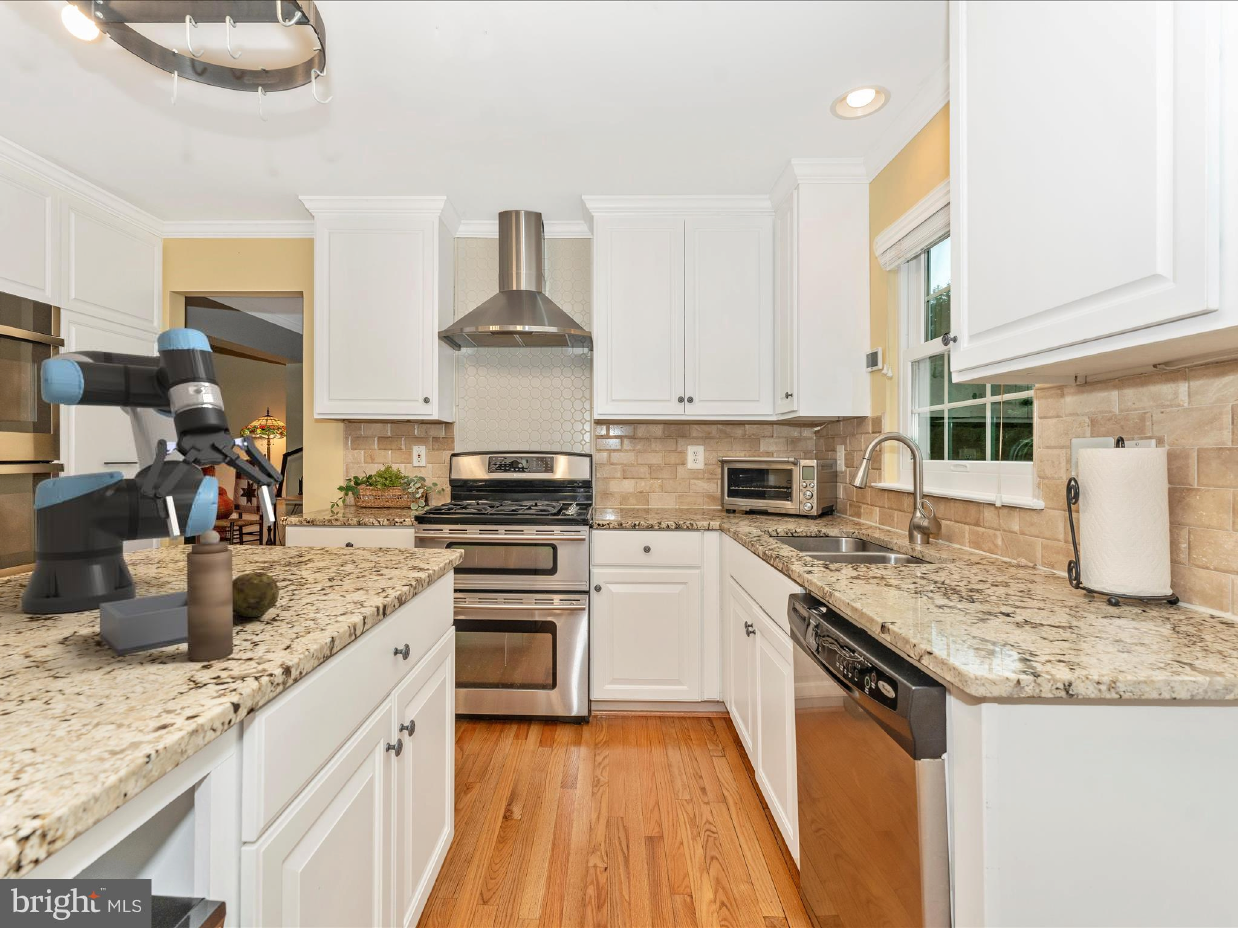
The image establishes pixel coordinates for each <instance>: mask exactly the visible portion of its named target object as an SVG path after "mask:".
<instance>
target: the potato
mask: <svg viewBox="0 0 1238 928" xmlns="http://www.w3.org/2000/svg"><path fill="white" fill-rule="evenodd" d="M232 593H233V614H236V615H238V616H240V617H245V618H247V617H248V618H255V617H256V618H257V617H261V616H263V615H265V614H266V613H267V612H268V611H270V609H272V608H273V607H274V606H275V605H276V604H277V602H278V601H279V596H280V589H279V586H278V584H277V582H276V581H275V579H274V578H273V577H272V576H271V575H270V574H268V573H265V572H260V571H259V572H249V573H244V574H240V575H238V576H236V577H235V578H234V579H232Z"/></svg>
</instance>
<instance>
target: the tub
mask: <svg viewBox="0 0 1238 928" xmlns="http://www.w3.org/2000/svg"><path fill="white" fill-rule="evenodd" d="M99 638H100V639H101V640H102V641H103V643H105V644H106V645H107V646H108V647H109V648H110V649H111V650H112V651H113V652H114V653H115V654H116V655H117V656H119V657H120V656H125V655H130V654H131V655H132V654H134V653H139V652H145V651H149V650H150V651H151V650H153V649H160V648H164V647H169V646H174V645H179V644H183V643H184V644H185V643H188V621H187V590H184V591H178V592H177V591H176V592H171V593H164V594H157V595H151V596H143V597H137V598H136V597H135V598H133V599H128V600H122V601H115V602H108V603H101V604H100V608H99Z"/></svg>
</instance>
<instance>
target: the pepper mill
mask: <svg viewBox="0 0 1238 928" xmlns="http://www.w3.org/2000/svg"><path fill="white" fill-rule="evenodd" d="M220 538H221V536H220V534H219V532H217V531H216V530H213V529H212V530H208V531H205V532H203V533H202V534H201V535H200V537H199V542H200V543H195V544H191V551H189V552H186V583H187V584H186V586H187V587H186V591H187V621H188V642H187V661H189V662H191V663H205V662H211V661H212V662H213V661H217V660H218V661H219V660H221V659H224V658H228V657H229V656H231V655H233V653H234V626H233V625H234V624H233V623H234V622H233V621H234V620H233V619H234V618H233V616H234V615H233V614H234V613H233V593H232V581H233V550H232V548H231V549H230V548H228V547H229V542H224V541H220Z"/></svg>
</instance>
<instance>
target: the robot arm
mask: <svg viewBox="0 0 1238 928" xmlns="http://www.w3.org/2000/svg"><path fill="white" fill-rule="evenodd" d="M156 339H157V349H156V351H157V353H158V354H159V355H156V356H153V355H151V356H150V355H141V354H140V355H139V354H132V353H131V354H130V353H123V352H121V353H120V352H111V351H110V352H109V351H103V350H77V351H68V352H67V351H66V352H63V353H59V354H55V355H53V356H51V357H49V358H47V359H44V360H43V361H42V362H41V367H40V368H41V369H40V371H39V372H40V374H39V375H40V384H41V385H40V389H41V391H40V392H41V399H42V400H43V401H44V402H46V403H47V404H54V405H55V404H56V405H64V406H90V407H92V406H94V407H117V408H120V410H121V411H123V413H124V414H126V415H127V416H128V417H129V421H130V427H131V429H132V435H133V440H134V446H135V451H136V457H137V463H138V467H139V470H138V471H137V472H136V474H135V475H134V477H132V478H124V477H125V476H124V475H123V473H122V471H119V470H115V471H114V470H113V471H101V472H92V473H91V472H90V473H82V474H73V475H65V476H60V477H59V476H58V477H52V478H51V477H50V478H48V479H44V480H42V481H41V482H39V483H38V485H37V486H36V488H35V495H34V496H35V500H34V505H33V506H32V507H33V510H35V564H34V565H35V566H34V568H33V570H32V572H31V575H30V578H29V579H28V583H27V585H26V587H25V588H24V591H23V593H22V594H23V595H22V597H21V611H22V612H23V613H27V614H28V613H29V614H38V615H39V614H41V615H42V614H62V613H72V612H81V611H82V612H83V611H89V610H94V609H100V604H101V603H108V602H115V601H122V600H128V599H135V598H136V597H137V589H136V588H137V586H136V583H135V581H134V578H133V576H132V574H131V572H130V569H129V567H128V565H127V564H128V563H127V562H126V559H125V557H124V542H126V541H128V542H130V541H140V540H152V539H167V538H170V541H177V540H178V538H181V537H182V538H183V537H185V538H188V537H193V536H199V535H200V536H201V534H202V533H203V532H205V531H208V530H213V529H214V527H215V523H216V520H217V513H218V507H219V505H218V503H219V482H218V479H217V477H215V476H210V475H206V476H205V475H204V472H203V470H202V469H201V468H200V467H206V466H221V464H224V465H226V466H227V467H229V468H232V469H234V470H236V471H237V472H238V473H239V474H241V475H243V476H244V477H246V479H248V480H250V481H251V482H252V483H253V484H255V485H257V486H258V487H260V488H258V491H257V493H258V498H259V502H260V507H261V512H262V515H263V521H264V524H265V526H266V527H268V526H271V525H272V524H273V523H274V522H275V521H276V520H275V515H274V511H273V506H274V505H275V504H276V502H277V498H276V495H275V490H274V487H275V486H277V485H279V484H280V483H281V482H282V481H283V475H282V474H281V473H280V472H279V471H278V469H277V468H276V467H275V466H274V465H273V464H272V463H271V462H270V460H269V459H268V458H267V457H266V456H265V455H264V453H263V452H262V451H261V450H260V449H259V448H258V446H257V445H256V443H255V440H254V439H253V436H252V435H250V434H245V436H244V437H241V438H240V437H238V438H234V437H233V436H232V435H231V431H230V427H229V422H228V417H227V414H226V412H225V406H224V400H223V398H222V395H221V389H220V385H219V380H218V376H217V371H216V366H215V362H214V358H213V350H212V349H211V345H210V343H209V340H208V337H207V336H206V334H205V333H203V332H202V331H199V330H197V329H193V328H187V327H185V328H183V327H174V328H171V329H167V330H165V331H162V332H161V333H160V334H159V335H158V336H157V338H156ZM235 447H238V448H239V450H241V451H244V453H245V454H246V456H247V457H248V458H249V460H251V462H252V463H253V464H254V465H255V466H256V467H257V468H258V469H257V468H256V467H254V466H253V465H252V464H251V463H249V462H247V460H246V459H243V458H242V457H241V456H240V454H239V453H238V452H236V451H235V450H233V449H234V448H235Z"/></svg>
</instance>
